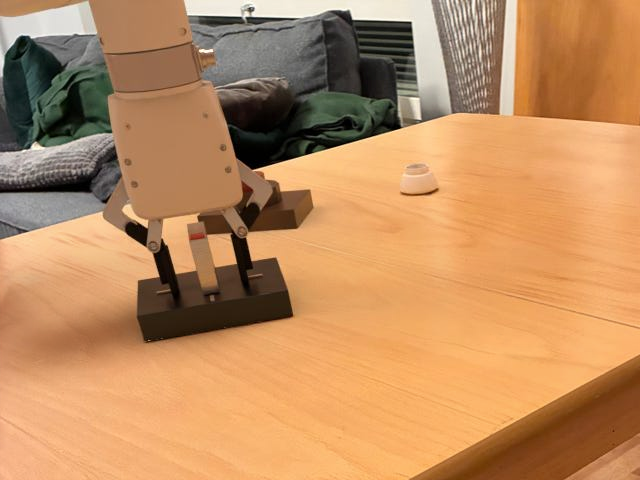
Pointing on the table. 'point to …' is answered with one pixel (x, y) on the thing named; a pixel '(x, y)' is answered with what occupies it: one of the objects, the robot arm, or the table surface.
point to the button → (246, 187)
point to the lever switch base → (212, 301)
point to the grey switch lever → (203, 258)
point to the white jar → (418, 179)
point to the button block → (266, 211)
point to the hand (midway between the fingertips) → (209, 282)
